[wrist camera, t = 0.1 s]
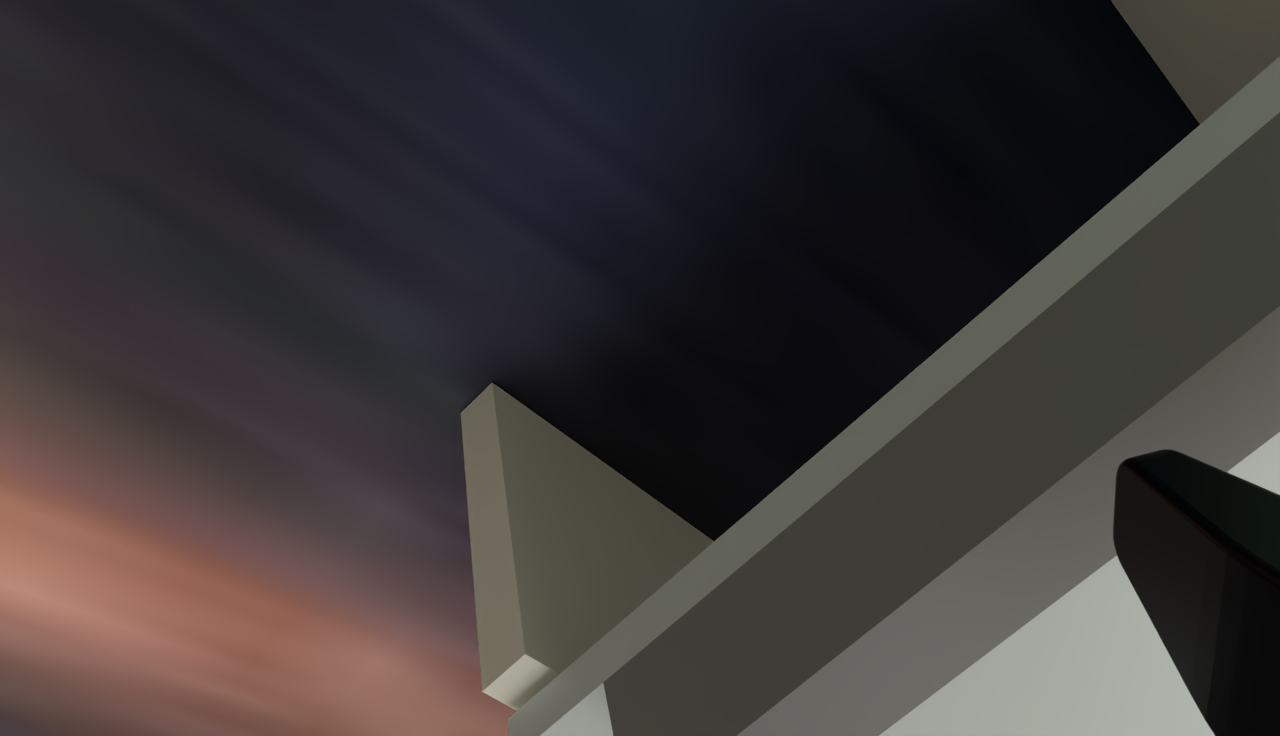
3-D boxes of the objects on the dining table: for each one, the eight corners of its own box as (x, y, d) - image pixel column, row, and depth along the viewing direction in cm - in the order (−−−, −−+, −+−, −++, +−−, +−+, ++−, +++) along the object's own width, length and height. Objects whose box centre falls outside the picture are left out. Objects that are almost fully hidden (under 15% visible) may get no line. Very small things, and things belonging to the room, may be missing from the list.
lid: (1654, 426, 19) (1854, 552, 17) (913, 938, 24) (978, 1103, 21) (1401, -48, 14) (1633, 25, 12) (507, 719, 18) (525, 902, 16)
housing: (1515, 494, 32) (1802, 716, 26) (1050, 819, 37) (1193, 1080, 30) (1061, -174, 21) (1368, -83, 14) (460, 413, 25) (481, 691, 19)
